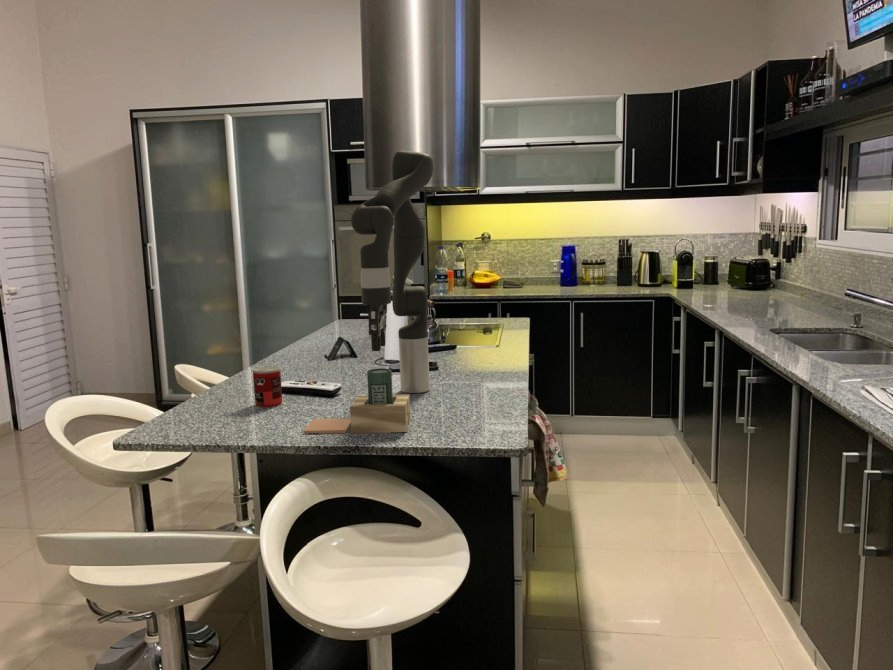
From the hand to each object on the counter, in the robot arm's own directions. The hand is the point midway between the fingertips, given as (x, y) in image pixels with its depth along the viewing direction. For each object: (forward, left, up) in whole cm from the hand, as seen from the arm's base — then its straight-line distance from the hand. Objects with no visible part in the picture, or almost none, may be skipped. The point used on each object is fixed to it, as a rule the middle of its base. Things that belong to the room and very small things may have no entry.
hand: (378, 348), depth 183 cm
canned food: (-26, -38, -21) cm, 51 cm away
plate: (0, -14, -21) cm, 25 cm away
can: (0, 0, -21) cm, 21 cm away
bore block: (0, 0, -21) cm, 21 cm away
